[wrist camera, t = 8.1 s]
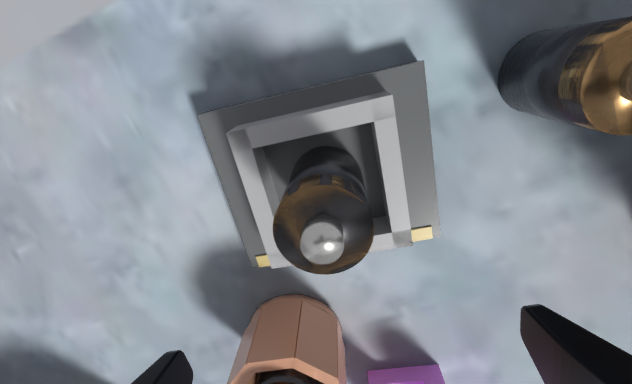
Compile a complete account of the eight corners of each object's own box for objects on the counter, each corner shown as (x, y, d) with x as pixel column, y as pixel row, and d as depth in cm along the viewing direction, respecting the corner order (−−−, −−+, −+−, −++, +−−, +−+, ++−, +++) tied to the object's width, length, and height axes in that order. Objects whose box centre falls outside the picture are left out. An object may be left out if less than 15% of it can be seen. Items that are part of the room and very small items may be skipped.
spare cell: (583, 20, 15) (764, -11, 9) (577, 103, 17) (729, 127, 10) (497, 41, 16) (610, 25, 9) (498, 119, 17) (597, 152, 11)
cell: (355, 138, 17) (367, 185, 10) (367, 205, 18) (385, 282, 12) (283, 153, 17) (253, 206, 11) (301, 217, 19) (283, 296, 12)
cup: (331, 287, 22) (330, 352, 17) (349, 358, 25) (353, 433, 20) (238, 302, 23) (212, 367, 18) (265, 368, 26) (248, 442, 21)
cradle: (417, 60, 16) (436, 60, 13) (434, 226, 20) (452, 254, 17) (205, 112, 18) (179, 121, 15) (256, 257, 22) (244, 287, 19)
